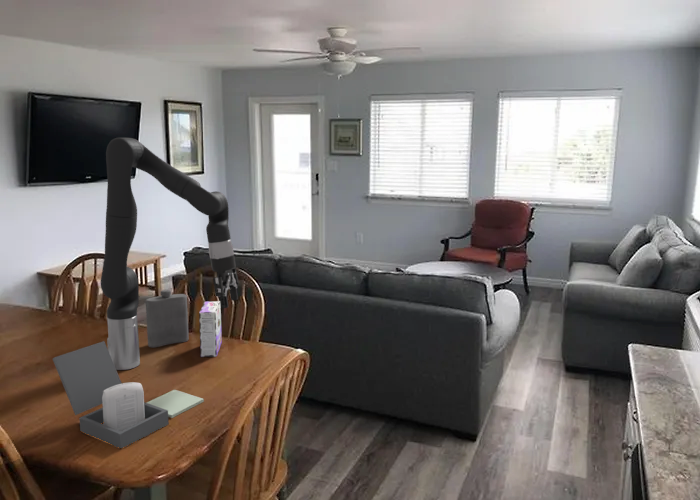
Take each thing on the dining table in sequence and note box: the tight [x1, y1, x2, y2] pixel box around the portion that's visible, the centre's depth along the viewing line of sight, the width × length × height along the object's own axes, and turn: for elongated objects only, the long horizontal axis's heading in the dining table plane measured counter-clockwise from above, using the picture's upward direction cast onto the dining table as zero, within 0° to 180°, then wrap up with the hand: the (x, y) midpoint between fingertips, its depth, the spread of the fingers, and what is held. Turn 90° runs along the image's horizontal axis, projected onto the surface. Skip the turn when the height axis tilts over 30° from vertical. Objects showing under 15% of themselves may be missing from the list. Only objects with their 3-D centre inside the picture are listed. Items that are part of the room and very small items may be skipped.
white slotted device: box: [102, 381, 146, 431], centre depth 152 cm, size 10×4×12 cm, turn 123°
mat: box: [146, 389, 205, 419], centre depth 167 cm, size 12×12×1 cm
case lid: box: [52, 340, 122, 416], centre depth 158 cm, size 16×15×2 cm
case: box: [78, 401, 169, 449], centre depth 153 cm, size 16×15×4 cm
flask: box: [145, 289, 190, 349], centre depth 215 cm, size 15×6×20 cm, turn 125°
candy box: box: [198, 300, 223, 358], centre depth 209 cm, size 14×6×16 cm, turn 5°
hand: (229, 303), depth 187 cm, fingers open, 8 cm apart
